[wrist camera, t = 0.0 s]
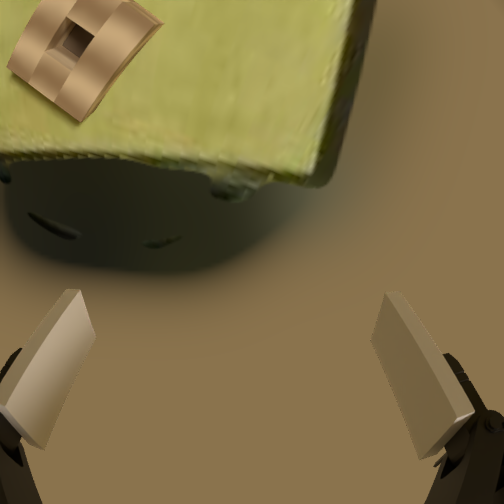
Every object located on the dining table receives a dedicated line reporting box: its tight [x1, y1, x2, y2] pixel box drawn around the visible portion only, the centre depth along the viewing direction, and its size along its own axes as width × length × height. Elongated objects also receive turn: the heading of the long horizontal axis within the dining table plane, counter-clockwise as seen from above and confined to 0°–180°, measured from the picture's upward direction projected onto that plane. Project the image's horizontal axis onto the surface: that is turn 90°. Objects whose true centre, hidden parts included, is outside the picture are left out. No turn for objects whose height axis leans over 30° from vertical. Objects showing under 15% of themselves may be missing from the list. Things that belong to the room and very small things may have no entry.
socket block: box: [7, 0, 164, 122], centre depth 22 cm, size 14×14×4 cm
